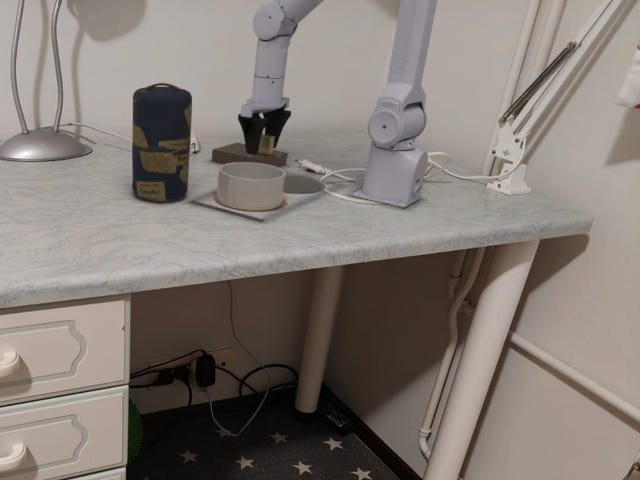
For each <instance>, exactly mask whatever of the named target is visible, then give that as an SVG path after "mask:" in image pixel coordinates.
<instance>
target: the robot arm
mask: <svg viewBox="0 0 640 480" xmlns="http://www.w3.org/2000/svg"><path fill="white" fill-rule="evenodd" d="M324 1H325V0H273V1H272V2H265V3H262V4H260V5H259V6H258V8H257V10H256V11H255V13H254V15H253V18H252V28H253V32H254V34H255V36H256V37H257V41H256V49H255V50H256V51H255V52H256V53H255V61H254V70H253V71H254V72H253V73H254V74H253V83H252V91H251V97H249V98H246V103H244V104H241V108H240V113H238V115H237V120H238V123H239V124H240V127H241V130H242V134H243V139H244V144H245V147H246V153H248V154H253V155H256V154H257V153H258V150H259V146H260V140H261V136H262V134H265V135H271V136H275V138H274V146H273V150H276V148H277V146H278V143H279V140H280V137H281V134H282V132H283V129H284V128H285V125H286V124H287V122H288V120H290V118H291V116H292V110H288V109H289V107H290V101H291V98H290V97H286V96H283V94H284V89H285V87H284V86H285V80H286V79H285V78H286V71H287V64H288V63H287V62H288V55H289V47H290V46H291V40H292V37H293V36H294V35H295V34H296V32H297V29H298V27H299V24H300V23H301V22H302V21H303V20H304V19H306V17H307V16H309V15H310V14H311V13H312V12H313V11H314V10H315V9H316V8H318V7H319V6H320V5H321V4H322V3H323V2H324ZM437 4H438V0H400V4H399V7H398V8H399V9H398V15H397V20H396V27H395V33H394V38H393V45H392V51H391V57H390V62H389V68H388V74H387V79H386V84H385V86H384V87H383V89H382V90H381V92H380V94H379V95H378V97H377V100H376V104H375V109H374V111H373V112H372V114H371V115H370V117H369V119H368V121H367V134H368V137H369V138H370V140H371V141H370V142H371V143H370V148H369V153H368V159H367V163H366V169H365V174H364V179H363V184H362V188H361V189H359V190H356V191H355V192H353V193H352V196H353V197H355V198H360V199H364V200H369V201H373V202H376V203H381V204H386V205H389V206H394V207H399V208H402V209H403V208H407V207H408V206H410V205H411V204H413V203H415V202H417V201H418V200H420V199H422V196H421V193H422V188H423V185H424V181H425V177H426V171H427V169H428V168H427V167H428V161H429V154H428V152H426V151H425V150H424V151H423V150H419V149H418V148H416V146H417V138H418V137H419V136H420V135H422V133H423V132H424V131H425V129H426V127H427V123H428V115H427V111H426V101H427V94H426V92H425V89H424V88H423V86H422V84H423V83H422V82H423V78H424V72H425V67H426V62H427V57H428V51H429V47H430V40H431V36H432V31H433V25H434V21H435V20H434V19H435V15H436V9H437V6H438V5H437ZM260 114H261V115H262V116H263V117H261V115H260Z"/></svg>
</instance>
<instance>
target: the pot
mask: <svg viewBox="0 0 640 480" xmlns="http://www.w3.org/2000/svg"><path fill="white" fill-rule="evenodd" d="M286 175H287V172H286V170H284V169H283V168H282V167H276V166H273V165H268V164H263V163H254V162H235V163H228V164H221V165H220V166H219V167H218V171H217V186H216V194H217V201H218V202H220V203H221V204H223V205H225V206H228V207H231V208H236V209H242V210H252V211H261V210H270V209H275V208H277V207H279V206H281V204H282V201H283V199H284V194H285V193H284V187H285V179H286Z"/></svg>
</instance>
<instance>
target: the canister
mask: <svg viewBox="0 0 640 480" xmlns="http://www.w3.org/2000/svg"><path fill="white" fill-rule="evenodd" d="M192 116H193V96H192V93H191V92H190V91H188V90H187V89H184V88H181V87H179V86H176V85H174V84H171V83H168V82H158V83H154V84H151V85H148V86H145V87H140V88H138V89H136V90H135V91H134V92H133V94H132V144H131V157H132V158H131V166H132V169H131V170H132V183H131V189H132V192H133V194H134V195H135V196H137V197H139V198H141V199H144V200H148V201H155V202H168V201H174V200H178V199H181V198H183V197H184V196H186V194H187V192H188V187H189V174H190V173H189V170H190V151H191V150H190V148H191V140H192V139H191V136H192V119H193V118H192Z"/></svg>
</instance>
